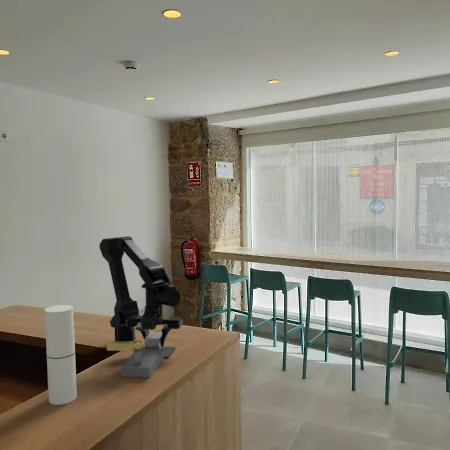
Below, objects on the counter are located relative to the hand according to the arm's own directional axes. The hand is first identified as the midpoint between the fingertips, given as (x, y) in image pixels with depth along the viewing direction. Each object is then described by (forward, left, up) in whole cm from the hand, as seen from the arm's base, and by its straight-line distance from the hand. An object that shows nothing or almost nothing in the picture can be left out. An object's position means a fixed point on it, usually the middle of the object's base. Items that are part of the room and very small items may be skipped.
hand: (155, 346), depth 152 cm
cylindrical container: (-15, -36, -3) cm, 39 cm away
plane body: (0, -13, -2) cm, 13 cm away
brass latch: (-4, -18, +6) cm, 20 cm away
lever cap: (0, 0, -1) cm, 1 cm away
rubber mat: (0, 0, -2) cm, 2 cm away
